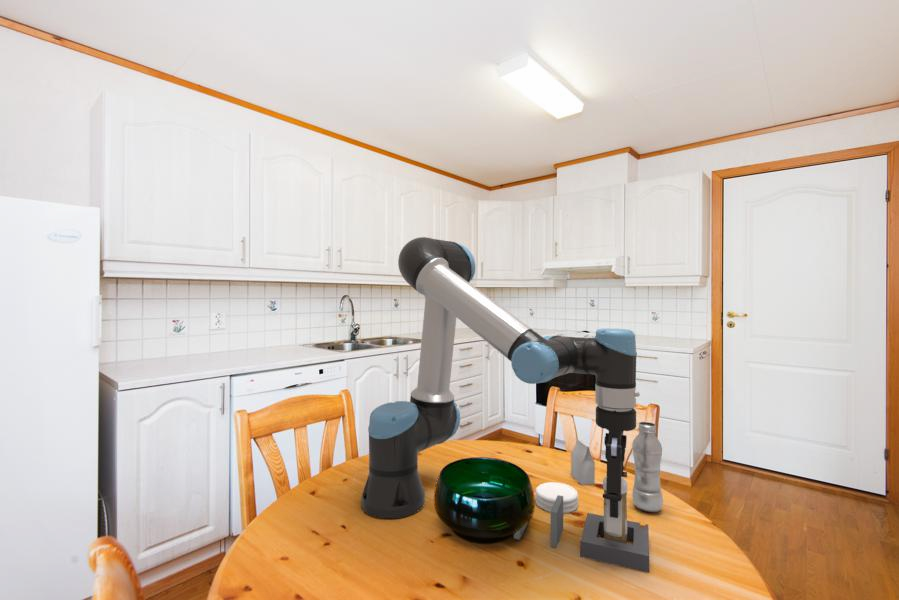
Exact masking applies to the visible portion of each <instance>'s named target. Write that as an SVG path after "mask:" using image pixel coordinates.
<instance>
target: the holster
mask: <svg viewBox="0 0 899 600" xmlns="http://www.w3.org/2000/svg"><path fill="white" fill-rule="evenodd" d="M527 526H528V524H527V525H526V526H524V527H523V528H521V529H520V530H519V531H517V532H516V533H515V534H514V533H513V539H515V540H521V538H522V535H523V534H524V532H525V531H526V528H527ZM563 531H564V514H563V496H560V495H558V496H557V498H556V500H555V503H554V505H553V507H552V510H551V512H550V548H554V549H558V545H559V542H560V541H561V536H562V533H563Z"/></svg>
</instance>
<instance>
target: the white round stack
mask: <svg viewBox="0 0 899 600" xmlns="http://www.w3.org/2000/svg"><path fill="white" fill-rule="evenodd" d="M558 495H560V496H563V515H564V514H570V513H573V512H575V511H576V510H577V509H578V507H579V493H578V491H577V489H576V488H574V487H572V486H571V485H569V484H566V483H563V482H555V481H554V482H552V481H549V482H544V483H541V484H539V485H538V486H536V487H535V504H536V505H537V507H538V508H540V509H541V508H542V509H541V510H543V509H544V510H543V511H545V510H546V512H548V513H551V510H552V507H553V505H554V503H555V500H556V498H557V496H558Z"/></svg>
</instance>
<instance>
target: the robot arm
mask: <svg viewBox="0 0 899 600" xmlns="http://www.w3.org/2000/svg"><path fill="white" fill-rule="evenodd" d="M397 261H398V262H397V263H398V264H397V265H398V269H399V272H400V274H401V277H402V278H403V279H404V280H405V282H406V283H407V284H408V285H409V286H410V287H412V288H413V290H415V291H416V292H417V293H419V294H420V295H423V296H424V300H425V302H424V308H423V309H424V310H423V311H424V312H423V319H422V320H423V321H422V322H423V323H422V332H421V342H420V343H421V344H420V353H419V361H418V362H419V365H418V375H417V385H416V387H415V388H414V389H412V390H411V392H410V397H409V398H410V399H409V401H407V400H405V401H404V400H403V401H402V400H398V401H397V400H396V401H395V402H391V401H390V402H386V403H384V404H381V405H379V406H377V407H376V408H374V409H373V410H372V411H371V412H370V414H369V423H368V424H369V425H368V430H367V432H368V449H369V450H368V475H367V479H366V481H365V485H364V488H363V491H362V493H361V494H362V495H361V509H362V508H363V509H362V511H363V510H364V511H365V512H366V513H365V512H364V511H363V512H364V513H365V514H367V513H368V514H369V515H368V514H367V515H368V516H371V515H372V516H371V517H373V516H375V517H374V518H377V517H380V518H379V519H384V518H392V519H393V518H394V519H401V518H400V517H402V518H406V517H409V516H408V515H410V514H412V515H414V514H416V513H418V512H419V511H421V510H422V509H423V508H422V507H424V506H425V504H424V503H426V501H425V500H426V494H425V489H424V487H423V486H424V485H423V483H422V480H421V477H420V473H419V470H418V466H419V465H418V464H419V463H418V456H419V455H418V453H420V452H423V451H425V450H427V449H429V448H431V447H435V446H436V445H441V444H443V443H446V441H448V440H449V439H451V438H452V437H453V436H455V434H456V433H457V431H458V430H459V427H460V423H461V414H460V413H461V412H460V409H459V408H458V404H457V403H456V402H455V395H454V394H453V393H452V392H451V390H450V385H451V377H452V367H453V355H454V346H455V345H454V344H455V336H456V335H455V334H456V326H457V319H458V320H460V321H461V322H462V323H463V324H464V325H465V326H467V328H469V329H470V330H471V331H473V332H474V333H475V334H476V335H477V336H479V337H480V338H481V339H483V340H484V341H485V342H486V343H488V344H489V345H490V346H491V347H492V348H493V349H495V350H496V351H498V352H499V353H500V354H501V355H503V356H504V357H505V358H507V360H509V361H510V363H511V368H512V370H513V373H514V375H515V376H516V377H517V378H518V379H519V380H520V381H521V382H523V383H526V384H529V385H530V384H532V385H534V384H541V383H547V382H549V381H551V380H552V379H555V378H557V377H558V378H559V377H561V376H564V375H566V374H570V373H571V374H582V375H589V376H590V375H594V376H595V385H594V386H595V394H594V395H595V404H596V405H597V406H596V407H595V424H596V425H597V427H599V428H601V429H606V430H607V431H608V432H605V434H604V435H605V436H604V443H603V444H604V446H605V452H604V454H605V459H606V477H607V485H606V494H604V493H602V498H603V499H604V498H606V532H611V533H616V534H621V535H622V496H621V478H623V479H625V478H626V479H627V478H628V472H627V471H624V470H625V466H624V463H625V456H626V455H625V454H626V448H627V435H626V434H624V432H630V431H634V430H635V429H636V427H637V411H636V409H635V407H636V405H637V398H636V397H640V392H639V391H636V390H637V355H638V353H637V343H636V334H635V333H634V331H633V330H631V329H625V328H599V329H596V331H595V335H594V337H576V336H564V335H563V336H562V335H559V334H558V335H557V334H556V335H545V336H542V335H540V334H539V333H538V332H537V331H535V330H533V329H532V328H531V327H530V326H528V325H527V324H526V323H524V322H523V321H522V320H520V319H519V318H517V317H516V316H515V315H514V314H512V313H511V312H509V311H508V310H507V309H505V308H504V307H503V306H501V305H500V304H498V303H497V302H496V301H494V300H493V299H491V297H489V296H488V295H486V294H485V293H484V292H482V291H481V290H480V289H478V288H477V287H475V286H474V285H473V284H471V283H470V282H471V281H472V280H473V279H474V277H475V273H476V261H475V257H474V256H473V254H472V252H471V251H470V249H469V248H468V247H467V246H465V245H463V244H461V243H458V242H456V241H451V240H449V241H448V240H443V239H437V238H432V237H425V236H422V237H421V236H419V237H416V238H413V239H411V240H409V241H407V243H406V244H405V245H403V247H402V248H401V250H400V253H399V255H398V260H397ZM423 505H424V506H423ZM421 508H422V509H421ZM420 509H421V510H420ZM418 510H419V511H418ZM417 511H418V512H417ZM415 512H416V513H415ZM413 513H414V514H413ZM405 516H406V517H405ZM410 516H411V515H410ZM392 519H391V520H392Z"/></svg>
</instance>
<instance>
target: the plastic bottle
mask: <svg viewBox="0 0 899 600" xmlns="http://www.w3.org/2000/svg"><path fill="white" fill-rule="evenodd" d="M637 428H638V429H637V431H638V434H637V435H636V436H635V437H634V439H633V440H632V443H631V445H632V446H631V447H632V454H633V460H634V461H633V462H634V480H633V483H634V484H633V487H632V493H631V497H632V502H633V504H634V505H635V507H636V508H638V509H639V510H642V511H644V512H648V513H658V512H660V510H661V509H662V507H663V504H664V498H663V492H662V488H661V463H662V462H661V461H662V454H663V447H662V443H661V441H660V440H659V439H658V437H657V436H656V434H657V426H656V424H655V423H653V422H649V421H640V422H638V427H637Z"/></svg>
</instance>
